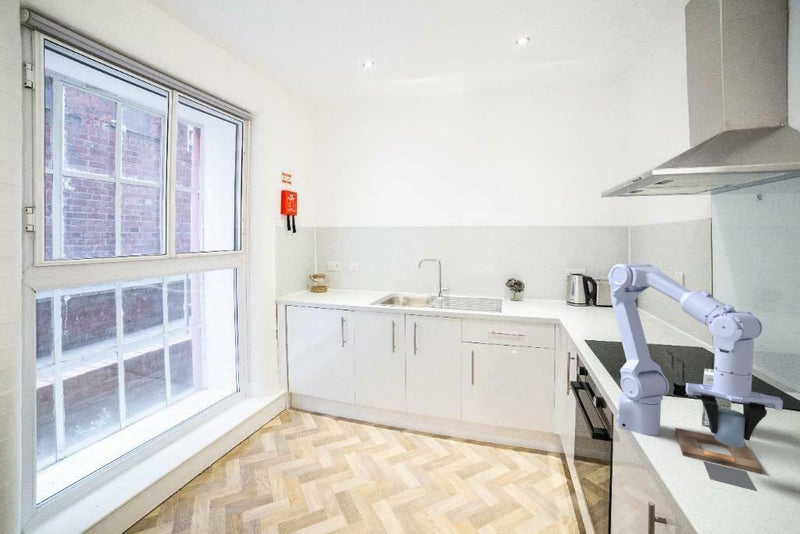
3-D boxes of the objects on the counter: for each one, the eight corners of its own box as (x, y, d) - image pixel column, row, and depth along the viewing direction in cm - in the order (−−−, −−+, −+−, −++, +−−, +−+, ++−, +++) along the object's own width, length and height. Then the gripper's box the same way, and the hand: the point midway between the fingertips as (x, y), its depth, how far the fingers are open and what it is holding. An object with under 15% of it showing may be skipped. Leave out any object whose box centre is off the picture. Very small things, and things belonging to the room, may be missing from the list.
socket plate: (682, 459, 81) (683, 450, 81) (675, 435, 91) (675, 427, 91) (761, 478, 75) (761, 468, 74) (743, 450, 85) (744, 441, 85)
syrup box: (729, 424, 97) (732, 371, 96) (729, 432, 92) (732, 378, 92) (701, 417, 101) (704, 367, 100) (701, 425, 96) (703, 372, 95)
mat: (710, 483, 73) (710, 479, 73) (702, 465, 79) (703, 461, 79) (757, 496, 69) (757, 491, 69) (745, 475, 75) (746, 471, 75)
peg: (717, 443, 74) (718, 414, 73) (712, 433, 77) (713, 406, 77) (746, 449, 71) (748, 420, 71) (740, 439, 75) (741, 411, 75)
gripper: (690, 370, 74) (687, 433, 75) (790, 384, 66) (786, 454, 67) (685, 360, 80) (682, 419, 81) (776, 372, 72) (772, 437, 73)
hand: (729, 434), depth 74 cm, fingers closed on peg, 4 cm apart
